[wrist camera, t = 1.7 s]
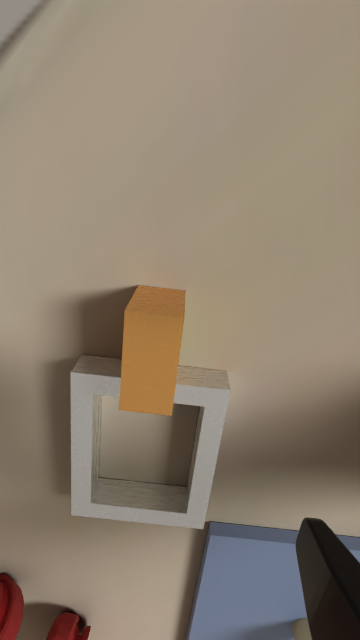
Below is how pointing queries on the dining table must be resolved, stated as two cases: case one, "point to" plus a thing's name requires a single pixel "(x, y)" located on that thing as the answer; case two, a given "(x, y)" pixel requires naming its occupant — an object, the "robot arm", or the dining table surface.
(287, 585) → the keeper
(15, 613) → the headphones
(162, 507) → the grey frame with tab
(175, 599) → the dining table surface
